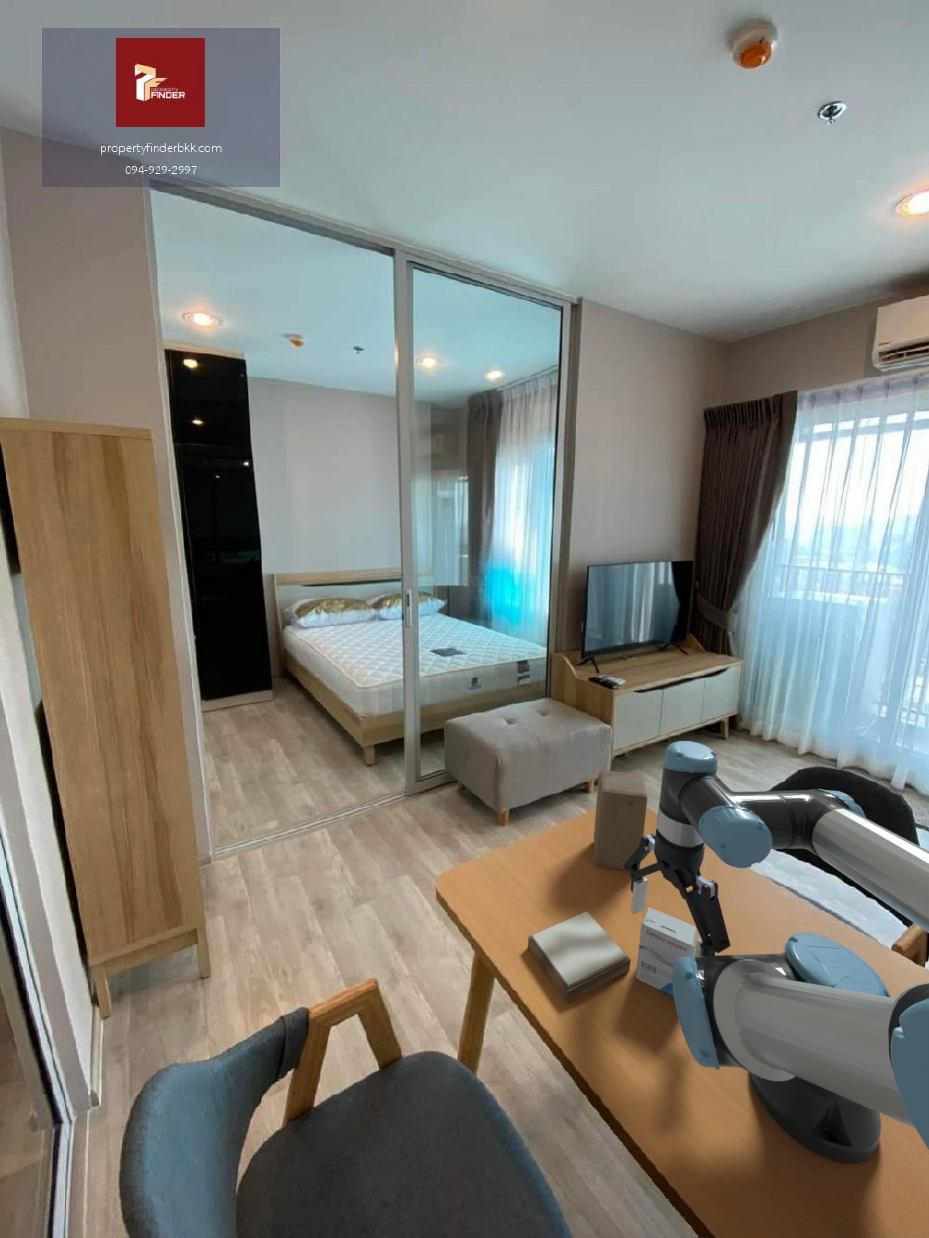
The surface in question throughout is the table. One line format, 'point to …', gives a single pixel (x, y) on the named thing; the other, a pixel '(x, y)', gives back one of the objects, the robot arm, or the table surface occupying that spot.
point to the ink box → (662, 948)
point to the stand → (578, 955)
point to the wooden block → (618, 818)
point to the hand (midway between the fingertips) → (666, 938)
